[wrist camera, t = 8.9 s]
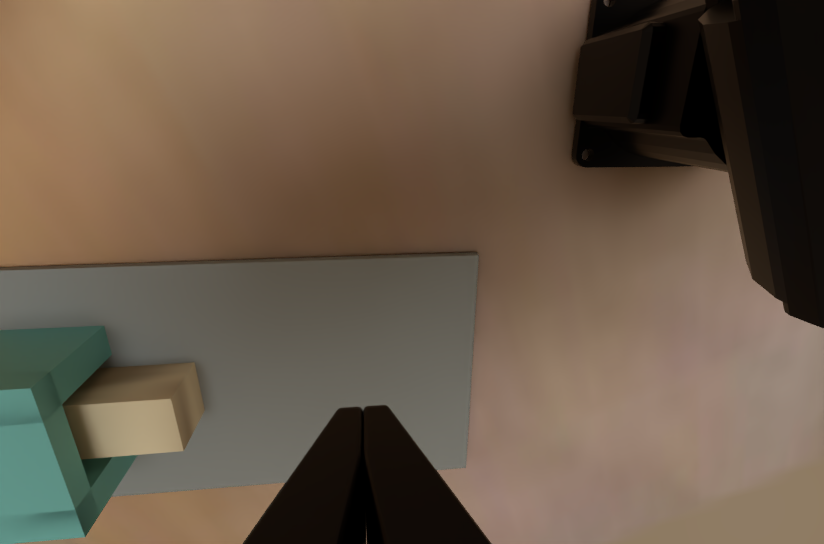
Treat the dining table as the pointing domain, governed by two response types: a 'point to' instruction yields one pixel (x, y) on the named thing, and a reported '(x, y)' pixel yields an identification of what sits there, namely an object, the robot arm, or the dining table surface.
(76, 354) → the teal faceted block
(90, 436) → the long wooden beam
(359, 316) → the mat
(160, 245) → the dining table surface
